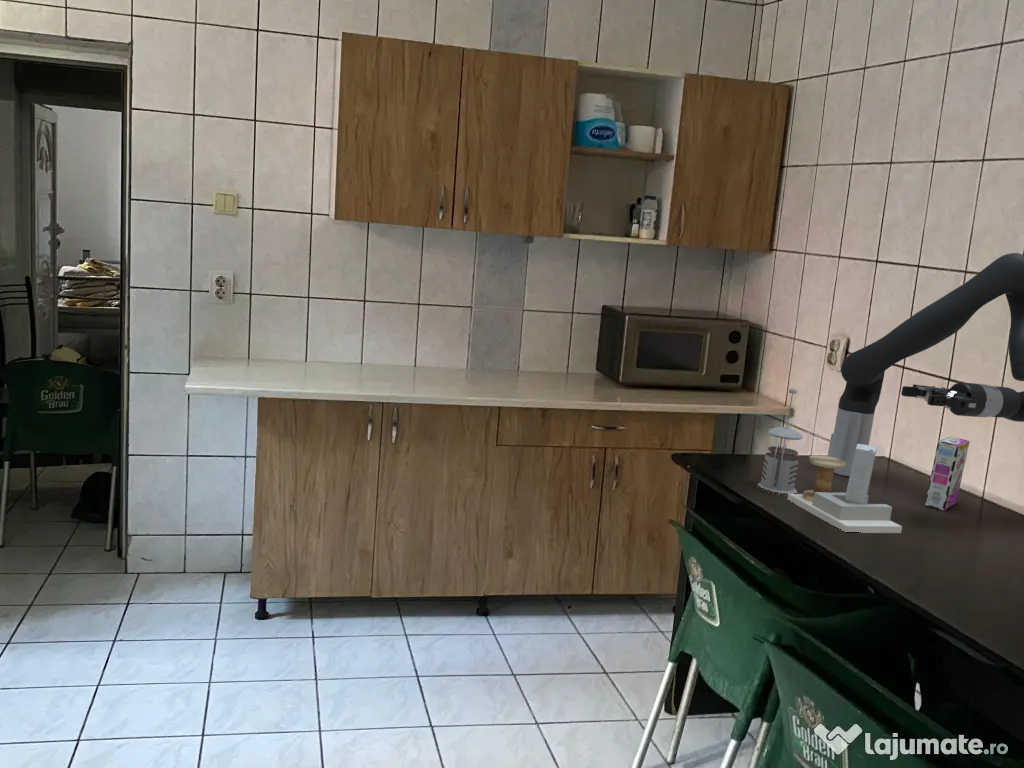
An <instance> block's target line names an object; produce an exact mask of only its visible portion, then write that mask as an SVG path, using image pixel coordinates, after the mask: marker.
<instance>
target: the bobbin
mask: <svg viewBox="0 0 1024 768" xmlns="http://www.w3.org/2000/svg"><path fill="white" fill-rule="evenodd" d="M808 463H810V464H812V465H814V466H817V470H816V475H815V482H814V488H813V489H807V490H804V491H802V492H803V493H802V494H803V498H804V499H806V500H808V501H811V502H813V497H814V492H831V491H832V486H833V480H834V474H835V473H834V469H844V468H845V466H846V462H845V461H843V460H840V459H837V458H834V457H829V456H828V455H820V454H814V455H813V454H812V455H809V457H808Z"/></svg>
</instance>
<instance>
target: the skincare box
mask: <svg viewBox="0 0 1024 768" xmlns="http://www.w3.org/2000/svg"><path fill="white" fill-rule="evenodd" d="M877 449H878V447H877V446H874V445H870V444H869V445H864V444H857V447H856V450H855V455H854V459H853V463H852V468H851V472H850V476H848V477H849V478H848V483H847V486H846V491H845V493H846V496H845V500H847V501H851V502H855V503H860V504H864V503H865V500H866V497H867V495H868V491H869V488H870V487H869V486H870V483H871V478H872V472H873V470H874V469H873V468H874V463H875V458H876V453H877Z"/></svg>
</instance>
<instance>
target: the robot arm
mask: <svg viewBox="0 0 1024 768" xmlns="http://www.w3.org/2000/svg"><path fill="white" fill-rule="evenodd" d="M1003 295H1005V297H1006V301H1007V304H1008V306H1009V313H1010V328H1009V336H1008V354H1009V355H1008V356H1009V362H1010V364H1009V365H1010V372H1011V375H1012V378H1013V379H1014V380H1015V381H1018V382H1024V254H1022V253H1018V252H1010V253H1006V254H1003V255H1002V256H1000V257H998V258H996V259H995V260H994V261H992V262H991V263H989V264H988V265H987V266H986V267H985V268H983V269H982V270H980V271H979V272H978V273H977V274H975V275H974V276H973V277H972V278H970V279H969V280H967V281H966V282H964V283H962V284H961V285H960V286H958V287H956V288H954V289H953V290H951V291H949V293H947V294H945V295H944V296H942V297H940V298H939V299H937V300H935V301H934V302H932V303H930V304H929V305H927V306H926V307H924V308H922V309H921V310H919V311H917V312H916V313H914V314H913V315H912V316H910V317H909V318H907V319H905V320H904V321H903V322H901V323H900V324H899V325H897V326H896V327H895V328H893V329H892V330H891V331H890V332H888V333H887V334H886V335H884V336H883V337H881V338H879V339H878V340H876V341H873V342H872V343H870V344H868V345H866V346H864V347H862V348H860V349H858V350H855V351H853V352H852V353H850V354H848V355H847V356H846V357H845V358H844V360H843V361H842V364H841V368H840V372H841V376H842V378H843V380H844V381H845V388H844V390H843V392H842V395H841V396H840V397H839V399H838V405H837V407H838V408H837V412H836V417H835V424H834V429H833V432H832V433H831V435H830V438H829V439H830V440H829V446H828V452H827V456H829V457H834V458H837V459H840V460H843V461H845V462H846V466H845V468H844V469H834V474H836V475H840V476H845V477H850V472H851V468H852V463H853V459H854V455H855V450H856V447H857V444H864V445H869V446H870V442H871V435H872V430H873V423H874V418H875V413H876V407H877V405H878V403H879V400H880V397H881V394H882V388H883V383H884V378H885V372H886V370H888V369H889V368H890V367H892V366H893V365H895V364H897V363H898V362H900V361H903V360H905V359H906V358H911V357H912V356H914V355H917V354H920V353H921V352H924V351H926V350H928V349H930V348H932V347H934V346H936V345H937V344H940V343H941V342H943V341H944V340H947V339H948V338H949V337H952V336H953V335H954V334H956V333H957V332H959V330H961V329H962V328H963V327H964V326H965V325H966V324H967V322H969V320H970V319H971V318H972V316H974V315H975V314H976V313H977V312H978V311H979V310H980V309H981V308H982V307H984V306H985V305H987V304H988V303H990V302H992V301H994V300H995V299H997V298H999V297H1000V296H1003ZM900 394H901V396H902V397H908V398H909V397H910V398H915V399H923V400H925V402H926V403H927V405H929V406H931V407H934V406H935V407H943V408H945V409H948V410H949V411H950V412H951V413H952V414H953V415H955V416H959V417H972V418H973V417H974V418H989V417H990V418H1003V419H1006V420H1008V421H1012V422H1021V423H1023V422H1024V390H1023V391H1019V392H1018V391H1017V390H1015V389H1013V388H1010V387H1005V386H996V385H990V384H985V383H974V382H962V381H960V382H956V383H954V384H952V386H951V387H950V388H949V387H943V386H942V387H936V386H935V385H932V386H931V385H922V384H921V385H920V384H912V386H908V385H907V386H906V385H903V386H902V389H901V393H900Z"/></svg>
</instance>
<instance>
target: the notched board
mask: <svg viewBox="0 0 1024 768" xmlns="http://www.w3.org/2000/svg"><path fill="white" fill-rule="evenodd" d="M845 496H846V492H837V491H836V492H814V497H813V502H811V501H808V500H806V499H804V498H803V493H797V494H788V495H787V501H788V500H790V501H791V502H790V501H789V502H790V503H792V502H793V504H794V503H795V504H794V505H796V506H797V507H799V508H800V509H803V510H804V511H806V512H808V513H810V514H812V515H813V516H815V517H817V518H818V519H821V520H822V521H823V522H826V523H827V522H828V524H829V525H831V526H833V527H834V526H835V528H836V527H837V528H836V529H838V528H839V529H838V530H840V529H841V530H840V531H841V532H843V531H844V532H843V533H845V532H859V533H858V534H902V532H903V531H902V529H903V526H902V525H900V524H899V523H896V522H895V521H892V520H891V517H892V512H893V511H892V510H893V506H891V505H888V504H885V503H869V497H870V495H868V494H867V497H866V500H865V503H864V504H860V503H855V502H851V501H847V500H845ZM860 532H861V533H860Z"/></svg>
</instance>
